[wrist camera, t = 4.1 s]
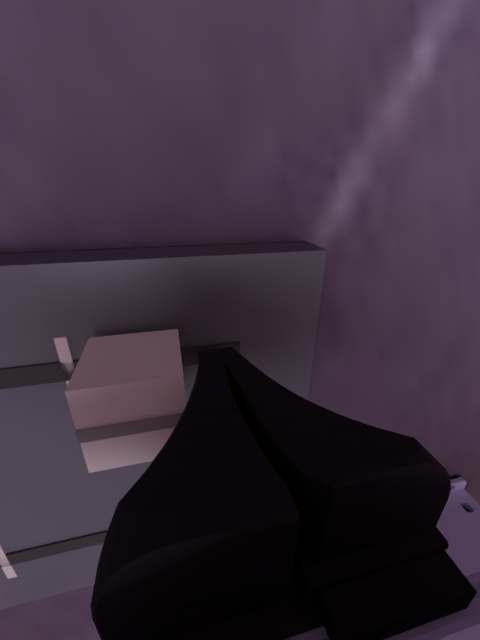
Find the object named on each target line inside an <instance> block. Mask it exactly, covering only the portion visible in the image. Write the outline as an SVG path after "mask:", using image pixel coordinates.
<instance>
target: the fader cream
mask: <svg viewBox="0 0 480 640" xmlns="http://www.w3.org/2000/svg"><path fill="white" fill-rule="evenodd" d="M65 395H66V398H67V402H68V405H69V408H70V412H71V415H72V418H73V422H74V425H75V428H76V432H75V434H76V437H77V441H78V444H79V443H80V445H81V448H82V452H83V455H84V458H85V462H86V465H87V468H88V472H89V473H92V472H97V471H102V470H108V469H113V468H118V467H123V466H129V465H134V464H139V463H145V462H150V461H153V460H154V459H155V457H156V456H157V454H158V453H159V452H160V450H161V449H162V447H163V446H164V445H165V443H166V441H167V440H168V438H169V437H170V435H171V433H172V432H173V430H174V428H175V426H176V425H177V423H178V421H179V419H180V417H181V415H182V413H183V411H184V409H185V407H186V398H185V387H184V376H183V368H182V359H181V351H180V342H179V334H178V329H171V330H161V331H151V332H141V333H131V334H121V335H111V336H101V337H91V338H89V339H88V342H87V344H86V346H85V348H84V350H83V352H82V355H81V357H80V359H79V361H78V363H77V366H76V368H75V370H74V372H73V374H72V376H71V379H70V381H69V383H68V385H67V387H66V390H65Z"/></svg>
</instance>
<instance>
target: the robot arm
mask: <svg viewBox="0 0 480 640" xmlns="http://www.w3.org/2000/svg"><path fill="white" fill-rule="evenodd" d="M198 361H199V365H198V371H197V375H196V379H195V383H194V386H193V389H192V391H191V394H190V397H189V400H188V402H187V404H186V407H185V409H184V411H183V413H182V415H181V417H180V419H179V421H178V423H177V425H176V426H175V428H174V430H173V432H172V433H171V435H170V437H169V438H168V440H167V441H166V443H165V445H164V446H163V447H162V449H161V450H160V452H159V453H158V454H157V456H156V457H155V459H154V460H153V461H152V463H151V464H150V465H149V467H148V468H147V469H146V471H145V472H144V473H143V474H142V476H141V477H140V478H139V479H138V480H137V481H136V483H135V484H134V485H133V486H132V487H131V488H130V490H129V491H128V492H127V493H126V494H125V495H124V497H123V498H122V499H121V500H120V501H119V502H118V504H117V507H116V509H115V512H114V515H113V517H112V520H111V522H110V525H109V528H108V531H107V534H106V537H105V540H104V543H103V547H102V550H101V554H100V558H99V562H98V566H97V571H96V577H95V583H94V590H93V596H92V602H91V612H92V619H93V621H94V624H95V626H96V628H97V631H98V633H99V636H100V638H101V640H480V504H479V503H478V502H477V501H476V500H475V499H474V498H473V497H472V496H471V495H470V494H469V493H468V492H467V491H466V490H465V489H464V488H465V486H466V481H465V480H464V479H463V478H462V477H460V478H456V479H452V480H451V479H450V475H449V474H448V472H447V470H446V469H445V468H444V467H443V466H442V465H441V464H440V463H439V462H438V461H437V460H436V459H435V458H434V457H433V456H432V455H431V454H430V453H429V452H428V451H427V450H426V449H425V448H424V447H423V446H422V445H421V444H420V443H419V442H418V441H417V440H416V439H415V438H412V437H409V436H405V435H402V434H398V433H394V432H391V431H387V430H383V429H380V428H376V427H373V426H370V425H367V424H364V423H361V422H358V421H355V420H352V419H349V418H347V417H344V416H342V415H339V414H337V413H334V412H332V411H330V410H327V409H325V408H323V407H321V406H318V405H316V404H314V403H312V402H310V401H308V400H306V399H304V398H303V397H301V396H299V395H297V394H295V393H293V392H292V391H290V390H288V389H287V388H285V387H283V386H282V385H280V384H279V383H277V382H276V381H274V380H273V379H271V378H270V377H269V376H267V375H266V374H264V373H263V372H262V371H260V370H259V369H258V368H257V367H255V366H254V365H253V364H252V363H250V362H249V361H248V360H247V359H246V358H245V357H243V356H242V355H241V354H240V353H239V352H238V351H236V350H235V349H234V348H233V347H227V348H219V349H210V350H201V351H200V352H199V353H198Z"/></svg>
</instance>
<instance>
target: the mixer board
mask: <svg viewBox="0 0 480 640" xmlns="http://www.w3.org/2000/svg"><path fill="white" fill-rule="evenodd" d="M326 258H327V250H326V249H323V248H321V247H318V246H316V245H313V244H311V243H308V242H306V241H299V242H274V243H249V244H225V245H200V246H175V247H151V248H126V249H101V250H77V251H52V252H27V253H3V254H0V610H1V609H5V608H9V607H13V606H16V605H20V604H24V603H28V602H31V601H35V600H39V599H43V598H46V597H50V596H54V595H58V594H61V593H65V592H69V591H73V590H76V589H80V588H84V587H88V586H91V585H94V583H95V577H96V571H97V566H98V562H99V558H100V554H101V550H102V547H103V543H104V540H105V537H106V534H107V531H108V528H109V525H110V522H111V520H112V517H113V515H114V512H115V509H116V507H117V504H118V502H119V501H120V500H121V499H122V498H123V497H124V495H125V494H126V493H127V492H128V491H129V490H130V488H131V487H132V486H133V485H134V484H135V483H136V481H137V480H138V479H139V478H140V477H141V476H142V474H143V473H144V472H145V471H146V469H147V468H148V467H149V465H150V464H151V463H152V461H150V462H145V463H139V464H134V465H129V466H123V467H118V468H113V469H108V470H102V471H97V472H92V473H89V472H88V468H87V465H86V462H85V458H84V455H83V452H82V448H81V445H80V443H79V444H78V441H77V437H76V434H75V432H76V428H75V425H74V422H73V418H72V415H71V412H70V408H69V405H68V402H67V398H66V395H65V390H66V387H67V385H68V383H69V381H70V379H71V376H72V374H73V372H74V370H75V368H76V366H77V363H78V361H79V359H80V357H81V355H82V352H83V350H84V348H85V346H86V344H87V342H88V339H89V338H91V337H101V336H111V335H121V334H131V333H141V332H151V331H161V330H171V329H178V334H179V342H180V351H181V359H182V368H183V376H184V387H185V398H186V404H187V402H188V400H189V397H190V394H191V391H192V389H193V386H194V383H195V379H196V375H197V371H198V365H199V361H198V353H199V352H200V351H201V350H210V349H219V348H227V347H233V348H234V349H235V350H236V351H238V352H239V353H240V354H241V355H242V356H243V357H245V358H246V359H247V360H248V361H249V362H250V363H252V364H253V365H254V366H255V367H257V368H258V369H259V370H260V371H262V372H263V373H264V374H266V375H267V376H269V377H270V378H271V379H273V380H274V381H276V382H277V383H279V384H280V385H282V386H283V387H285V388H287V389H288V390H290V391H292V392H293V393H295V394H297V395H299V396H301V397H303V398H304V399H306V400H308V399H309V391H310V384H311V376H312V368H313V360H314V352H315V344H316V336H317V328H318V321H319V313H320V305H321V297H322V289H323V281H324V273H325V265H326Z"/></svg>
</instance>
